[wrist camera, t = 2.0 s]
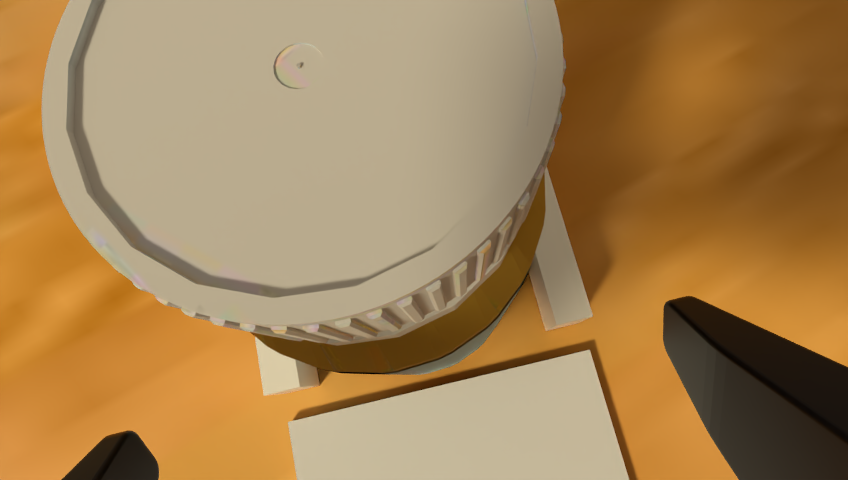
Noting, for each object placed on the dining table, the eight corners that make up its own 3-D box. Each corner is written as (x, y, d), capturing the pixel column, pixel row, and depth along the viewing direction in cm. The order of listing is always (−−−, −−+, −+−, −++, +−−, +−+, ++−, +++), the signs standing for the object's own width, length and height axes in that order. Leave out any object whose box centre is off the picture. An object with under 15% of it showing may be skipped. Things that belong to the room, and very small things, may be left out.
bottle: (304, 222, 22) (-21, -88, 7) (474, 170, 22) (491, -246, 7) (348, 398, 20) (35, 461, 5) (532, 342, 20) (714, 254, 5)
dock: (592, 319, 20) (621, 307, 16) (273, 396, 20) (230, 401, 16) (523, 97, 22) (534, 42, 19) (237, 167, 22) (193, 126, 19)
